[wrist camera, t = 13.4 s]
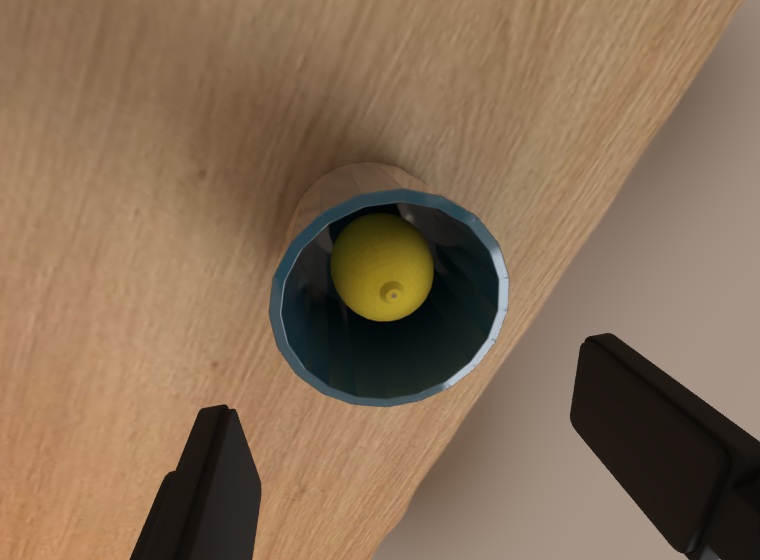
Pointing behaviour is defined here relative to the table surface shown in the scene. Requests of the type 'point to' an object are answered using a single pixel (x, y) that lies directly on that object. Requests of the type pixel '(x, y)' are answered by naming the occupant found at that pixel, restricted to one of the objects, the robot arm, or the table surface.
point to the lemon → (382, 267)
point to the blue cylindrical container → (398, 337)
